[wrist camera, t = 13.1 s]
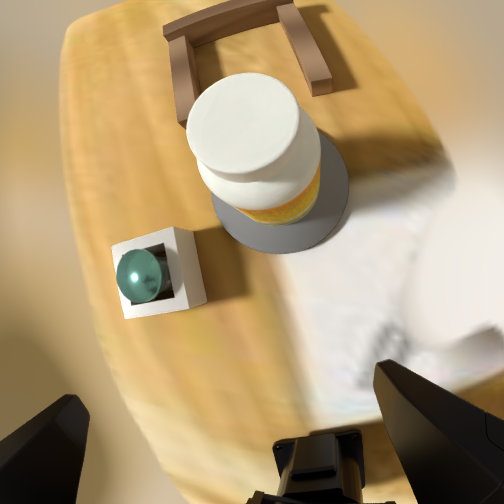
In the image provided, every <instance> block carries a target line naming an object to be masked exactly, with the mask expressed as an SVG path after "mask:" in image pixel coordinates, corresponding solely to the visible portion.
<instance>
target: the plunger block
mask: <svg viewBox="0 0 504 504" xmlns="http://www.w3.org/2000/svg"><path fill="white" fill-rule="evenodd" d="M134 249H142V250H148V251H150V252H152V253H153V254H154V253H158V252H162V251H165V250H166V256H167V261H168V267H169V272H170V277H171V282H172V287H173V291H174V296H175V297H172V298H167V299H162V300H156V301H154V299H153V300H150V301H147V302H143V303H135V302H132V301H130V300H128V299H127V298H126V297H125V296H124V295H123V294H122V293H121V291H120V289H119V294H120V299H121V303H122V308H123V313H124V317H125V319H130V318H136V317H143V316H149V315H155V314H162V313H168V312H174V311H180V310H185V309H190V308H193V307H196V306H199V305H202V304H205V303H207V302H208V301H207V297H206V292H205V288H204V283H203V278H202V274H201V269H200V264H199V259H198V254H197V249H196V244H195V239H194V233H193V231H190V230H186V229H182V228H177V227H170V228H166V229H163V230H160V231H157V232H153V233H150V234H147V235H144V236H141V237H138V238H134V239H131V240H128V241H125V242H122V243H119V244H116V245H113V246H112V253H113V260H114V266H115V272H117V266H118V263H119V261H120V259H121V258H122V256H123V255H124V254H125V253H127V252H128V251H130V250H134ZM118 288H119V287H118Z"/></svg>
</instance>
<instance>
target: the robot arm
mask: <svg viewBox="0 0 504 504" xmlns="http://www.w3.org/2000/svg"><path fill="white" fill-rule="evenodd" d="M373 388H374V392H375V395H376V398H377V401H378V404H379V407H380V410H381V413H382V416H383V420H384V423H385V426H386V429H387V432H388V435H389V437H390V440H391V442H392V444H393V446H394V448H395V451H396V453H397V455H398V457H399V460H400V462H401V464H402V467H403V469H404V471H405V474H406V476H407V478H408V481H409V483H410V485H411V488H412V490H413V493H414V495H415V497H416V500H417V502H418V504H504V420H502V419H500V418H498V417H496V416H494V415H492V414H490V413H488V412H484V410H482V409H480V408H478V407H477V406H475V405H473V404H471V403H469V402H467V401H465V400H464V399H462V398H460V397H458V396H456V395H454V394H452V393H451V392H449V391H447V390H445V389H443V388H441V387H440V386H438V385H436V384H434V383H432V382H431V381H429V380H427V379H425V378H423V377H422V376H420V375H418V374H416V373H414V372H413V371H411V370H409V369H407V368H406V367H404V366H402V365H400V364H398V363H397V362H395V361H393V360H391V359H387V360H383V361H380V362H377V363H376V365H375V372H374V380H373ZM89 420H90V415H89V412H88V410H87V408H86V407H85V406H84V404H83V403H82V401H81V400H80V398H79V397H78V396H77V395H75V394H65V395H64V396H62V397H61V398H59V399H58V400H57V401H55V402H54V403H53V404H51V405H50V406H49V407H47V408H46V409H44V410H43V411H41V412H40V413H39V414H37V415H36V416H35V417H33V418H32V419H31V420H29V421H28V422H26V423H25V424H24V425H22V426H21V427H19V428H18V429H17V430H15V431H14V432H13V433H11V434H10V435H8V436H7V437H6V438H4V439H3V440H2V441H0V504H76V498H77V492H78V487H79V482H80V476H81V471H82V466H83V462H84V457H85V450H86V442H87V434H88V427H89ZM353 435H357V437H355V438H353V437H352V436H353ZM277 446H281V447H282V448H278V447H277ZM273 453H274V457H275V461H276V464H277V468H278V472H279V476H280V479H281V481H280V485H279V489H278V492H277V496H275V495H269V494H264V492H261V491H255V493H254V495H253V498H249V499H248V501H247V503H246V504H396V503H395V501H387V502H385V503H363V497H362V489H363V488H364V487H365V474H364V458H363V444H362V435H361V431H359V430H350V431H345V432H339V433H334V434H332V433H329V434H323V435H316V436H309V437H302V438H298V439H292V440H282V441H276V442H275V443H274V444H273Z"/></svg>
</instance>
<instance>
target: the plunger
mask: <svg viewBox="0 0 504 504" xmlns="http://www.w3.org/2000/svg"><path fill="white" fill-rule="evenodd" d="M116 278H117V284H118V287H119V289H120V291H121V293H122V294H123V295H124V296H125V297H126V298H127V299H128V300H130V301H132V302H135V303H143V302H147V301H150V300H153V299H154V298H155V297H156V296H157V295H158V294H159V293H160V292H166V291H170V290H173V287H172V282H171V277H170V272H169V267H168V261H167V257H157V256H156V255H155V254H153V253H152V252H150V251H148V250H142V249H134V250H130V251H128V252H127V253H125V254H124V255H123V256H122V258H121V259H120V261H119V263H118V266H117V272H116Z"/></svg>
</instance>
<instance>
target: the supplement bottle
mask: <svg viewBox="0 0 504 504" xmlns="http://www.w3.org/2000/svg"><path fill="white" fill-rule="evenodd" d="M186 131H187V139H188V143H189V146H190V148H191V150H192V152H193V153H194V155H195V156H196V157H197V163H198V168H199V171H200V174H201V176H202V179H203V180H204V182H205V184H206V185H207V186H208V188H209V189H210V190H211V191H212V192H213V193H214V194H215V195H216V196H217V197H218V198H220V199H221V200H223V201H224V202H226V203H228V204H229V205H231V206H233V207H234V208H236V209H237V210H239V211H240V212H242V213H243V214H245V215H247V216H248V217H250V218H251V219H253V220H254V221H256V222H258V223H261V224H264V225H269V226H282V225H287V224H290V223H293V222H295V221H298V220H299V219H301V218H302V217H304V216H305V215H306V214H307V213H308V212H309V211H310V210H311V208H312V207H313V205H314V204H315V202H316V200H317V197H318V193H319V187H320V162H321V161H320V159H321V146H320V138H319V134H318V131H317V129H316V126H315V124H314V123H313V121H312V119H311V118H310V116H309V115H308V114H307V113H306V112H305V111H304V110H303V109H302V108H301V107H300V106H299V104H298V102H297V100H296V98H295V96H294V94H293V93H292V92H291V90H290V89H289V88H288V87H287V86H286V85H285V84H283V83H282V82H281V81H279V80H277V79H275V78H273V77H271V76H268V75H264V74H260V73H241V74H235V75H231V76H228V77H225V78H223V79H221V80H219V81H217V82H215V83H214V84H213V85H211V86H210V87H209V88H207V89H206V90H205V91H204V92H203V93H202V94H201V95H200V96H199V98H198V99H197V100H196V102H195V103H194V105H193V107H192V109H191V111H190V113H189V117H188V121H187V129H186Z"/></svg>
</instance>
